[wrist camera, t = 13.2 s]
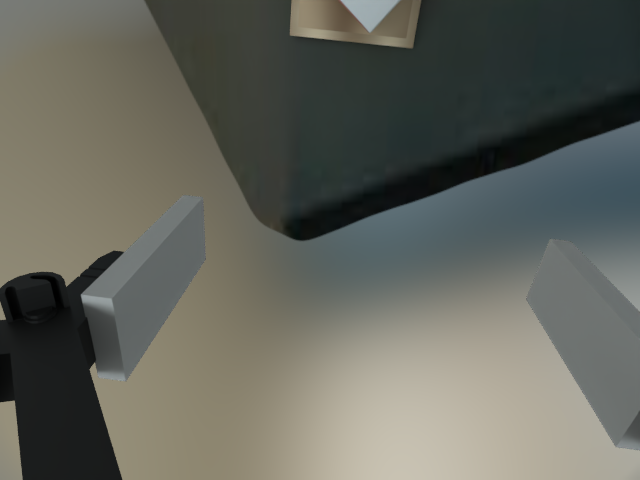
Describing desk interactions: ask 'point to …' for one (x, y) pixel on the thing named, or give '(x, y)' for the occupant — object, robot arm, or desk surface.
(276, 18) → the desk surface
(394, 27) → the oak plinth
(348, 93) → the desk surface
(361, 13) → the small box
